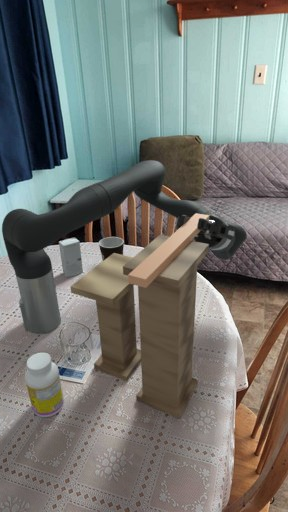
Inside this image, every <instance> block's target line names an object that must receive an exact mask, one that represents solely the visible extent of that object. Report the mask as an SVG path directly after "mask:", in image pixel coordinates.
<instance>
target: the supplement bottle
mask: <svg viewBox="0 0 288 512" xmlns="http://www.w3.org/2000/svg"><path fill="white" fill-rule="evenodd" d="M26 367H27V370H26V372H25V374H24V382H25V384H26V388H27V392H28V397H29V400H30V405H31V408H32V412H33V413H34V414H35V415H36V416H37V417H40V418H50V417H53V416H55V415H57V414H58V413H59V412H60V411H61V410H62V408H63V407H64V403H65V396H64V391H63V387H62V381H61V376H60V371H59V367H58V365H57V364H56V363H54V361H52V356H51V355H50V354H49V353H47V352H37V353H33V354H32V355H31V356H30V357H29V358H28V359H27V360H26Z"/></svg>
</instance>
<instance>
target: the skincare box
mask: <svg viewBox="0 0 288 512" xmlns="http://www.w3.org/2000/svg"><path fill="white" fill-rule="evenodd" d="M80 243H81V242H80V240H78V239H77V238H76V237H71V238H65V239H64V240H60V241H58V245H59V253H60V254H59V255H60V259H61V260H60V261H61V269H62V272H63V274H64V275H65V277H66V278H69V277H73V276H77V275H79V274H82V273H83V272H84V270H83V261H82V252H81V244H80Z"/></svg>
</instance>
